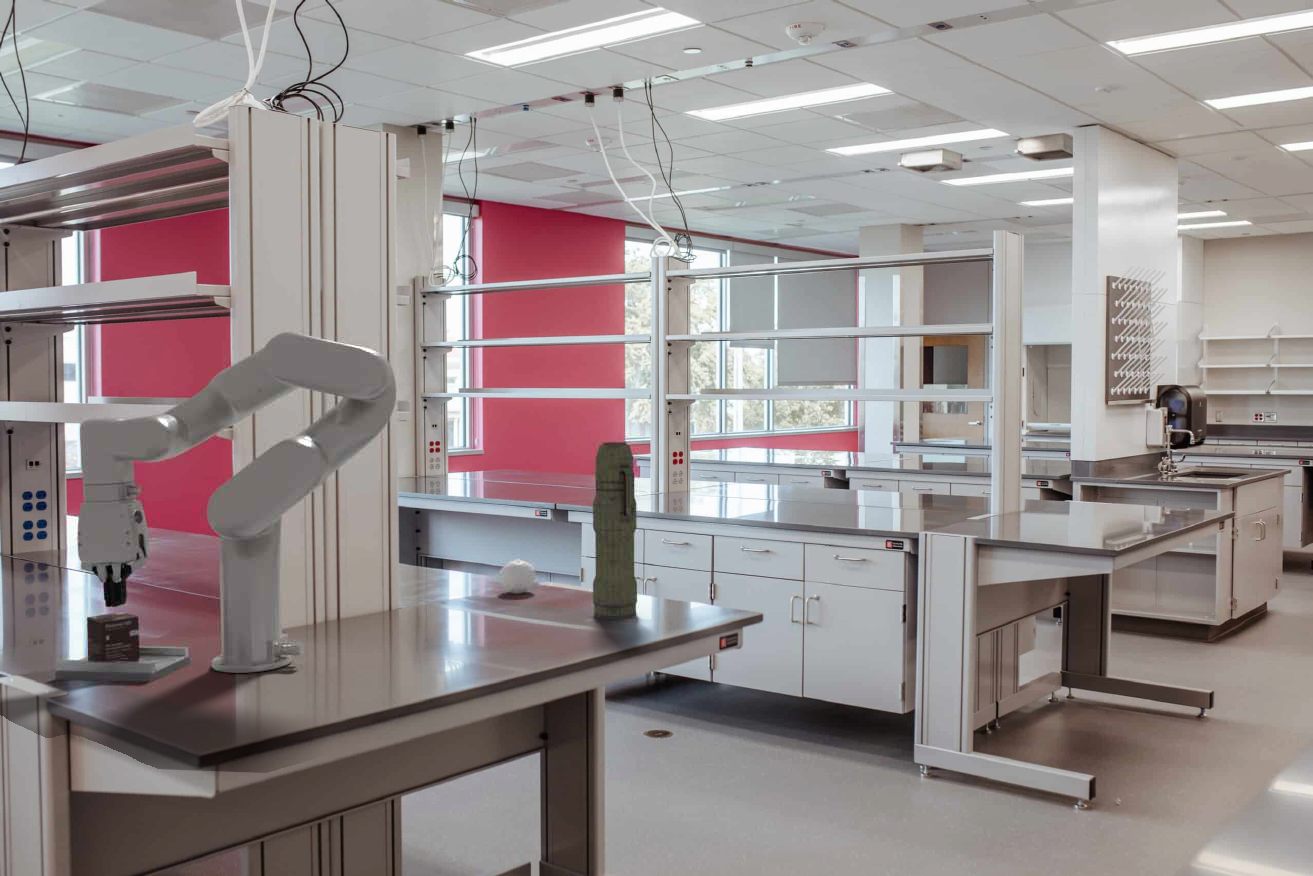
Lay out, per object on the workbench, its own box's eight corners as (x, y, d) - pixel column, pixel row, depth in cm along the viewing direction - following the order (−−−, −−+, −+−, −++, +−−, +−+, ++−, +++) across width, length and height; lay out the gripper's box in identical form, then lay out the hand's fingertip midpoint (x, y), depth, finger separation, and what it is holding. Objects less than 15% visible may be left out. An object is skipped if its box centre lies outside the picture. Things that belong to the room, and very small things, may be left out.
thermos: (612, 607, 231) (612, 440, 229) (650, 616, 222) (650, 443, 221) (579, 613, 225) (578, 442, 223) (617, 622, 216) (616, 444, 215)
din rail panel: (190, 662, 186) (189, 646, 186) (150, 682, 174) (149, 664, 174) (100, 660, 187) (100, 644, 187) (55, 679, 176) (54, 662, 175)
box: (102, 667, 177) (101, 622, 176) (86, 661, 181) (85, 617, 180) (140, 660, 181) (139, 616, 181) (124, 654, 185) (123, 611, 185)
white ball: (532, 589, 252) (532, 555, 251) (538, 595, 245) (537, 560, 244) (497, 591, 250) (497, 557, 249) (502, 597, 242) (501, 562, 242)
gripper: (165, 490, 182) (171, 600, 183) (80, 492, 184) (87, 601, 185) (139, 495, 175) (146, 609, 176) (51, 497, 177) (58, 610, 178)
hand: (115, 605), depth 180 cm, fingers closed
